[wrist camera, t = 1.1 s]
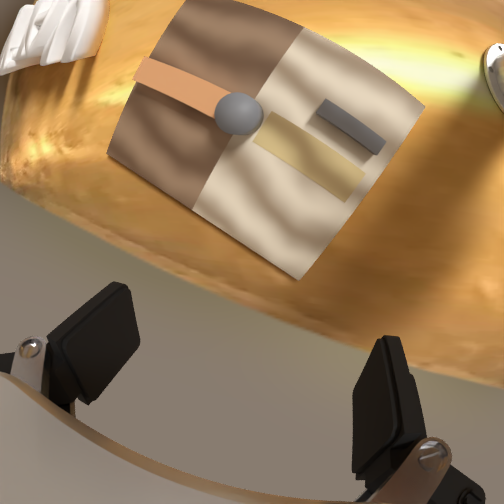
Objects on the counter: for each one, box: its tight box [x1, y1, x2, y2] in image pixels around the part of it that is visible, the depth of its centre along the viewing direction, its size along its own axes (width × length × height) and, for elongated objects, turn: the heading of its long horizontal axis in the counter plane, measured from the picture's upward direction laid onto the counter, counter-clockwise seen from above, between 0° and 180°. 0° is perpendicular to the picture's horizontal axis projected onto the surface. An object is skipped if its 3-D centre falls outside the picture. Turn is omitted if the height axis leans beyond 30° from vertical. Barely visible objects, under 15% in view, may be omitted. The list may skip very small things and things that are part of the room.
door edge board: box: [106, 0, 425, 281], centre depth 29 cm, size 28×34×3 cm
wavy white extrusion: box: [0, 0, 110, 75], centre depth 24 cm, size 35×16×10 cm, turn 70°
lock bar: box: [132, 56, 264, 135], centre depth 28 cm, size 18×5×3 cm, turn 59°
